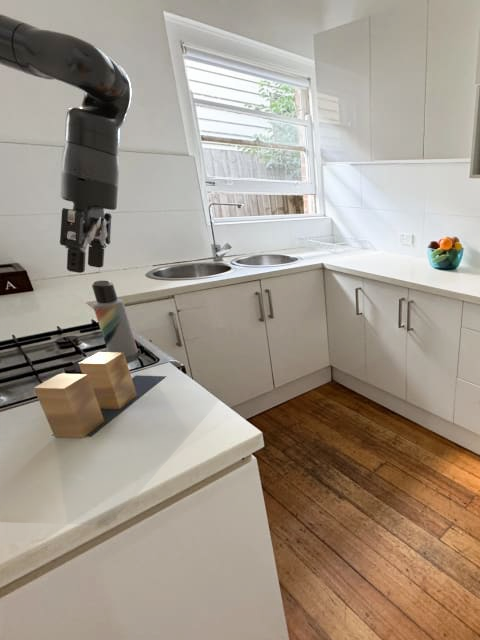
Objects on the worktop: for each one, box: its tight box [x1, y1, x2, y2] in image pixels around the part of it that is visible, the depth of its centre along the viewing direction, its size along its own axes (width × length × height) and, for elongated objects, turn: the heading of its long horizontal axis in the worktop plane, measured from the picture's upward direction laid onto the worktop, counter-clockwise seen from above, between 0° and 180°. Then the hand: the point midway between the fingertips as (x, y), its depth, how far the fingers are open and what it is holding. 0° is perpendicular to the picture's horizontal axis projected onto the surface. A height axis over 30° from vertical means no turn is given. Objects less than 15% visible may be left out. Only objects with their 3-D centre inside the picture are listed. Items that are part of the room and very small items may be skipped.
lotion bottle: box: [91, 280, 140, 364], centre depth 91 cm, size 6×6×20 cm
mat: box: [51, 375, 167, 438], centre depth 77 cm, size 22×7×1 cm, turn 0°
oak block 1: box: [33, 373, 104, 439], centre depth 67 cm, size 5×5×10 cm
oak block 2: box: [78, 351, 137, 409], centre depth 75 cm, size 5×5×10 cm
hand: (86, 269), depth 70 cm, fingers open, 8 cm apart
